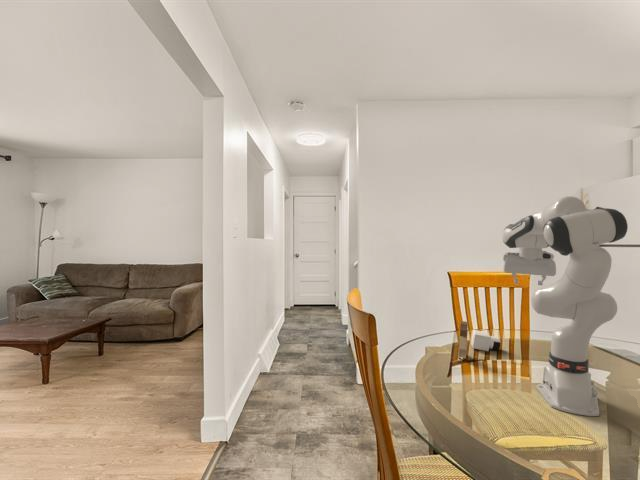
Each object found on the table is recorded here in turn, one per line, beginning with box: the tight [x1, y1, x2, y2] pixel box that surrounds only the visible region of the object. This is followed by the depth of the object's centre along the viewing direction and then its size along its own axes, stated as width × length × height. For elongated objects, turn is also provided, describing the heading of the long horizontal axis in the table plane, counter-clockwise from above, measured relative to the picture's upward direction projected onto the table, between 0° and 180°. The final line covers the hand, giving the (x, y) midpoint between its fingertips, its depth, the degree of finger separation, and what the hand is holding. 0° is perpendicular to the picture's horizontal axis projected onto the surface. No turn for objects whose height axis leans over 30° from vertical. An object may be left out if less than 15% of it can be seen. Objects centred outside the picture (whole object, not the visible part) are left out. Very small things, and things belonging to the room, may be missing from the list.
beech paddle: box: [458, 320, 469, 359], centre depth 168 cm, size 6×3×16 cm, turn 157°
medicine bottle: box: [470, 329, 501, 352], centre depth 178 cm, size 7×7×12 cm
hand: (528, 284), depth 164 cm, fingers open, 8 cm apart
